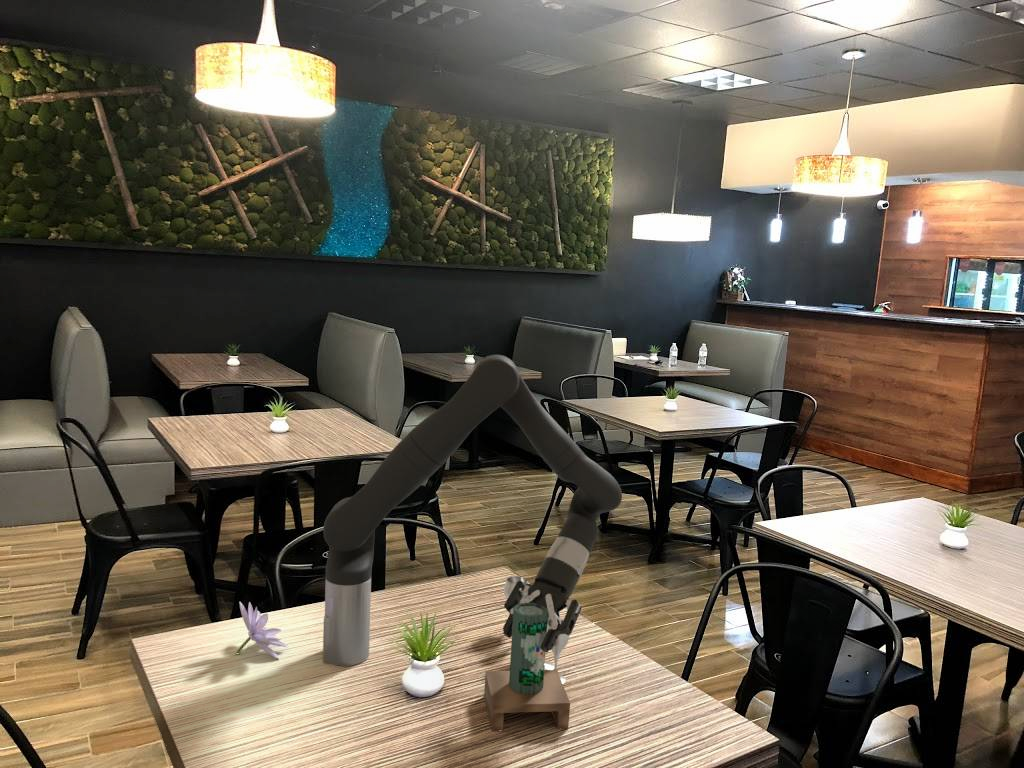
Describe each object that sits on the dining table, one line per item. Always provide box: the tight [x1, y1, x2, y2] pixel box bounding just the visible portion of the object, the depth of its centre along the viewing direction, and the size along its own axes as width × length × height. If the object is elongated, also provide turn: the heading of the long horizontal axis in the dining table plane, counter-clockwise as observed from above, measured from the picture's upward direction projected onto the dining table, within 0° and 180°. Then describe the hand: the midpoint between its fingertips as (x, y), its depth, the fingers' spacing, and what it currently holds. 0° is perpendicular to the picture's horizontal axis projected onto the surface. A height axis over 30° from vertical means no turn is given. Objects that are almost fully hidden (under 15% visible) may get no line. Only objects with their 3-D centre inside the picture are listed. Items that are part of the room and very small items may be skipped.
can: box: [509, 603, 548, 695], centre depth 148 cm, size 6×6×15 cm
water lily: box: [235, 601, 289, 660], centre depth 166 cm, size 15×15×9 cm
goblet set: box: [503, 575, 570, 685], centre depth 172 cm, size 28×6×13 cm, turn 21°
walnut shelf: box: [483, 669, 571, 732], centre depth 150 cm, size 14×12×5 cm
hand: (524, 643), depth 147 cm, fingers open, 8 cm apart
